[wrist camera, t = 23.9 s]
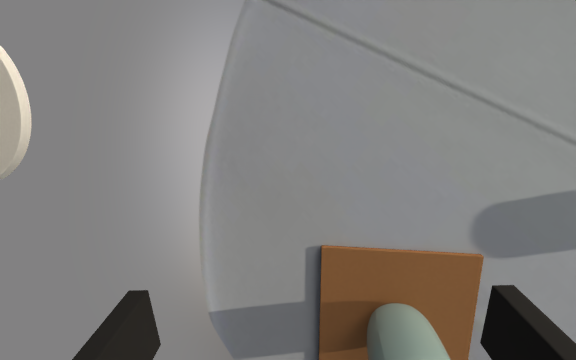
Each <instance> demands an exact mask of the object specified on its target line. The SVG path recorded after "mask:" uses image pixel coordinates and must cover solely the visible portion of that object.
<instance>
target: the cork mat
mask: <svg viewBox="0 0 576 360" xmlns="http://www.w3.org/2000/svg"><path fill="white" fill-rule="evenodd" d="M482 264H483V256H482V255H481V254H465V253H448V252H430V251H412V250H395V249H377V248H359V247H342V246H324V245H322V250H321V291H320V331H319V360H368V357H367V346H366V332H367V324H368V321H369V318H370V316H371V314H372V313H373V312H374V311H375V310H376V309H377V308H378V307H379V306H381V305H384V304H387V303H403V304H406V305H409V306H412V307H414V308H415V309H417V310H418V311H420V312H421V313H422V314H423V315H424V316H425V317H426V318H427V320H428V321H429V322H430V323H431V325H432V326H433V328H434V329H435V331H436V332H437V334H438V336H439V338H440V339H441V341H442V343H443V345H444V347H445V349H446V351H447V353H448V355H449V357H450V359H451V360H468V356H469V349H470V343H471V336H472V330H473V323H474V316H475V310H476V303H477V297H478V290H479V284H480V277H481V271H482Z"/></svg>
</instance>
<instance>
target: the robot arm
mask: <svg viewBox="0 0 576 360" xmlns="http://www.w3.org/2000/svg"><path fill="white" fill-rule="evenodd" d="M480 343H481V345H482V346H483V347H484V349H485V350H486V352H487V353H488V355H489V356H490V358H491V359H492V360H576V343H575V342H573V341H572V340H571V339H570V338H569V337H568V336H567V335H566V334H565V333H564V332H563V331H562V330H561V329H560V328H559V327H558V326H556V325H555V324H554V323H553V322H552V321H551V320H550V319H549V318H548V317H547V316H546V315H545V314H544V313H543V312H542V311H541V310H539V309H538V308H537V307H536V306H535V305H534V304H533V303H532V302H531V301H530V300H529V299H528V298H527V297H526V296H525V295H523V294H522V293H521V292H520V291H519V290H518V289H517V288H516V287H515V286H514V285H499V286H492V290H491V294H490V299H489V304H488V309H487V314H486V318H485V323H484V328H483V333H482V338H481V342H480ZM160 345H161V344H160V340H159V335H158V331H157V327H156V322H155V318H154V314H153V310H152V306H151V301H150V297H149V293H148V291H147V290H143V291H128V292H127V294H126V295H125V296H124V297H123V299H122V300H121V301H120V302H119V303H118V305H117V306H116V307H115V308H114V310H113V311H112V312H111V313H110V314H109V316H108V317H107V318H106V319H105V321H104V322H103V323H102V324H101V325H100V327H99V328H98V329H97V330H96V331H95V333H94V334H93V335H92V336H91V338H90V339H89V340H88V341H87V342H86V344H85V345H84V346H83V347H82V348H81V350H80V351H79V352H78V353H77V354H76V356H75V357H74V358H73V359H72V360H153V358H154V356H155V354H156V352H157V350H158V349H159V347H160Z"/></svg>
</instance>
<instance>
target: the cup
mask: <svg viewBox="0 0 576 360" xmlns="http://www.w3.org/2000/svg"><path fill="white" fill-rule="evenodd" d="M366 346H367V357H368V360H451V359H450V357H449V355H448V353H447V351H446V349H445V347H444V345H443V343H442V341H441V339H440V338H439V336H438V334H437V332H436V331H435V329H434V328H433V326H432V325H431V323H430V322H429V321H428V320H427V318H426V317H425V316H424V315H423V314H422V313H421V312H420V311H418V310H417V309H415V308H414V307H412V306H409V305H406V304H403V303H387V304H384V305H381V306H379V307H378V308H377V309H376V310H375V311H374V312H373V313H372V314H371V316H370V318H369V321H368V324H367V332H366Z"/></svg>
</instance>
